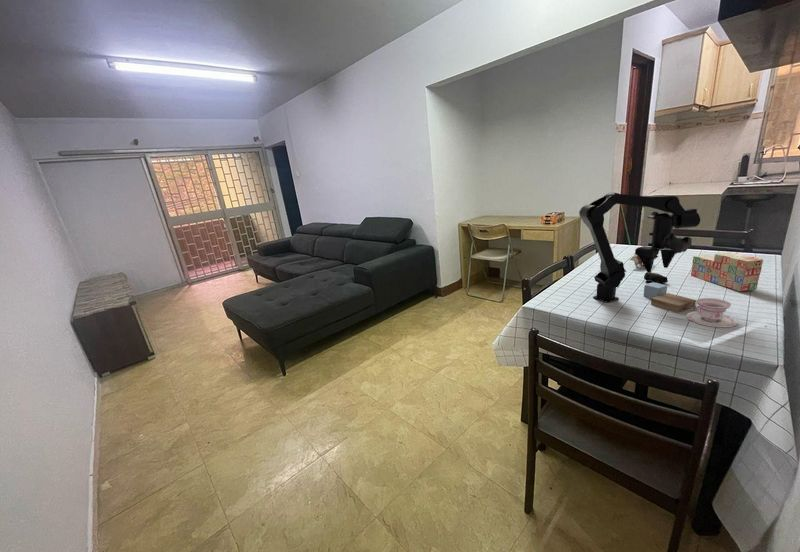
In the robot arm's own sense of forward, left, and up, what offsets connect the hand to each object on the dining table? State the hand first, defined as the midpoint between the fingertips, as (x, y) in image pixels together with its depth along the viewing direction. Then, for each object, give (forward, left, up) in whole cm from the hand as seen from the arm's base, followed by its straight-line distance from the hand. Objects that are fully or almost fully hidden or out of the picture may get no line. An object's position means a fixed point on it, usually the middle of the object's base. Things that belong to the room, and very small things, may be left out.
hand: (657, 269), depth 121 cm
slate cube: (0, 0, -11) cm, 11 cm away
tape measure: (+12, +8, -11) cm, 18 cm away
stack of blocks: (+33, -4, -12) cm, 35 cm away
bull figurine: (+30, +27, -11) cm, 42 cm away
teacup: (-6, -21, -12) cm, 25 cm away
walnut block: (-3, -9, -12) cm, 15 cm away
